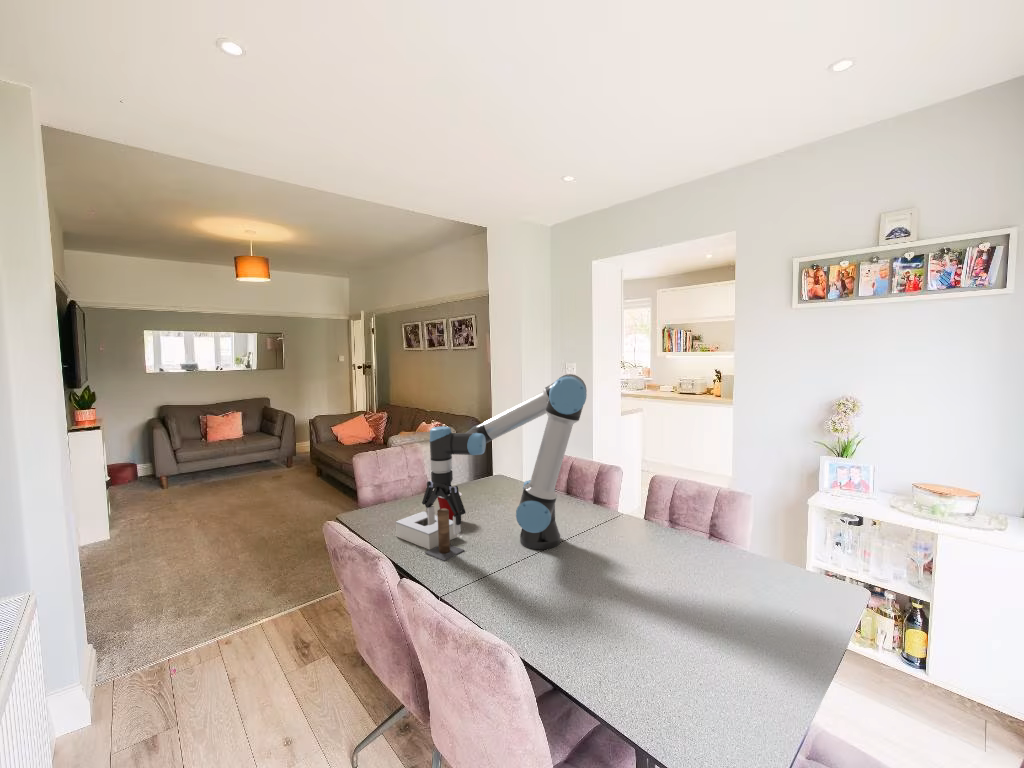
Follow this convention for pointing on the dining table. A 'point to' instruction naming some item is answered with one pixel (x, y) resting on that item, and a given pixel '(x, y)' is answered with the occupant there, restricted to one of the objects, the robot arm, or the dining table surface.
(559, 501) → the dining table surface
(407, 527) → the box
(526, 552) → the dining table surface
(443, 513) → the wooden rod
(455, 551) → the pad
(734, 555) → the dining table surface
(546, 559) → the dining table surface
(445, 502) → the plastic cup
